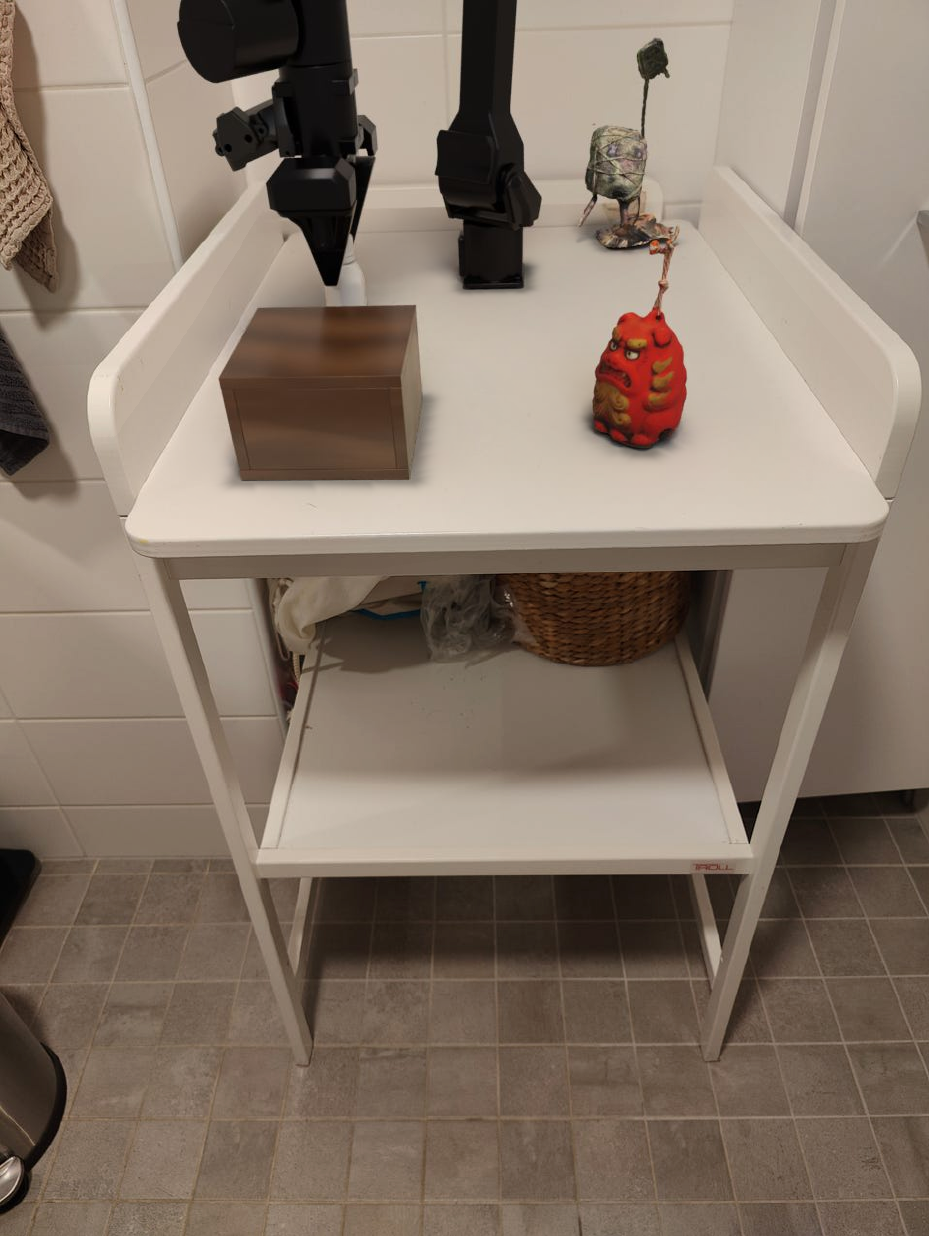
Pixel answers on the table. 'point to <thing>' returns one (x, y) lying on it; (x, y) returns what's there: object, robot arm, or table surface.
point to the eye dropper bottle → (348, 283)
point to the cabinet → (325, 393)
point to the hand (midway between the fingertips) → (339, 266)
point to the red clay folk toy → (642, 374)
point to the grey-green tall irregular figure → (626, 165)
